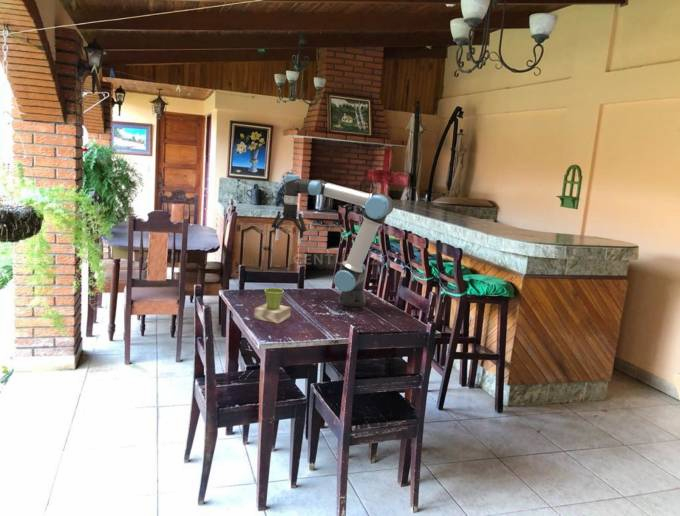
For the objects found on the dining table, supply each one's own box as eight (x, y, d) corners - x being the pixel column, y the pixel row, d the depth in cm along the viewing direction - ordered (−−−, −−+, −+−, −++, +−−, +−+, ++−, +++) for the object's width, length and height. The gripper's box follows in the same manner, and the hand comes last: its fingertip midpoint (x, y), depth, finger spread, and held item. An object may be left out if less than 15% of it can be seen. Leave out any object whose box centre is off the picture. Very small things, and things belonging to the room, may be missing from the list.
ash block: (290, 316, 261) (290, 307, 260) (277, 323, 249) (278, 313, 248) (267, 312, 266) (267, 302, 265) (253, 318, 254) (254, 308, 253)
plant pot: (279, 311, 251) (280, 293, 250) (260, 308, 253) (261, 291, 251) (285, 306, 260) (286, 289, 259) (267, 304, 262) (268, 287, 260)
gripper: (266, 201, 286) (264, 239, 290) (309, 206, 277) (305, 246, 281) (273, 200, 293) (271, 238, 297) (314, 205, 284) (311, 244, 288)
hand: (288, 242), depth 289 cm, fingers open, 13 cm apart
